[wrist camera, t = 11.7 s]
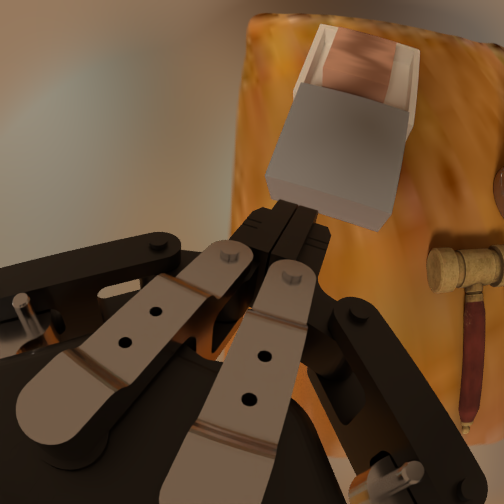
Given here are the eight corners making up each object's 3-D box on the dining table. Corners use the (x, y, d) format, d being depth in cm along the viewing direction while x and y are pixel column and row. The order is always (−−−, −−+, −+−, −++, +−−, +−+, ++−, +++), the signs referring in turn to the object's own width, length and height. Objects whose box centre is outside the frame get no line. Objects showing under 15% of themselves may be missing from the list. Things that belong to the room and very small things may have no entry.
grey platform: (397, 140, 34) (409, 112, 29) (377, 231, 33) (391, 214, 27) (302, 113, 37) (300, 82, 31) (271, 198, 35) (264, 175, 29)
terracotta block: (377, 123, 34) (387, 79, 35) (388, 86, 27) (396, 42, 28) (321, 106, 36) (336, 64, 37) (322, 67, 29) (338, 26, 30)
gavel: (507, 429, 23) (433, 450, 24) (489, 418, 27) (420, 434, 29) (514, 241, 26) (440, 244, 27) (494, 247, 30) (424, 251, 32)
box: (413, 68, 36) (420, 50, 32) (404, 143, 34) (413, 125, 30) (320, 43, 39) (320, 23, 35) (294, 111, 37) (292, 91, 33)
